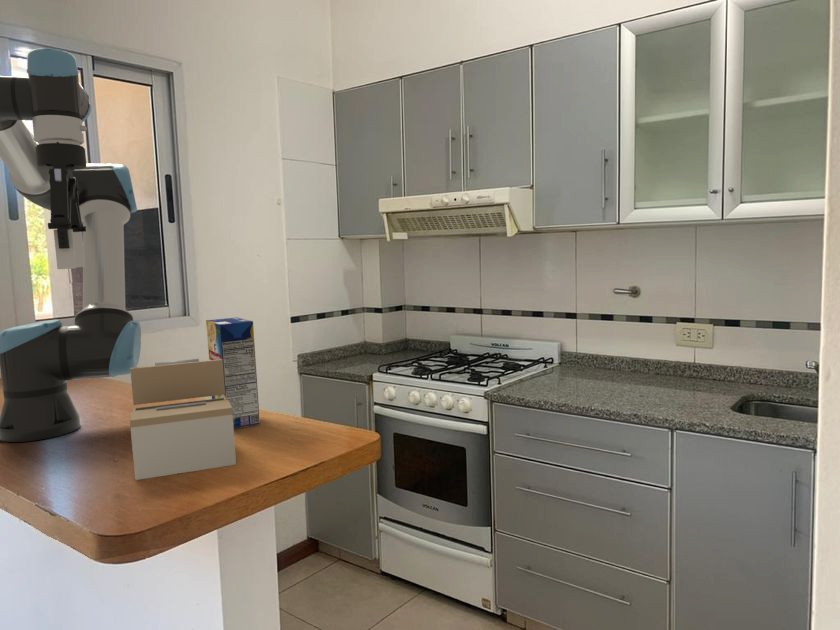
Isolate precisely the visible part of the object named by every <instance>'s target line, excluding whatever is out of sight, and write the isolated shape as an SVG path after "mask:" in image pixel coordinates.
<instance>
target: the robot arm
mask: <svg viewBox="0 0 840 630" xmlns="http://www.w3.org/2000/svg"><path fill="white" fill-rule="evenodd" d="M26 60H27V64H26V65H27V66H26V73H27V76H5V75H0V159H1V160H2V162H3V164H4V165H5V167H6V168H7V170H8V178H9V181H10V183H11V185H12V186H13V188H14V189H15V190H16V191H17V193H18V194H20V195H21V196H22V197H23V198H25V199H26V200H28V201H29V202H31V203H33V204H34V205H36V206H38V207H41V208H43V209H45V210H48V211H50V222H48V223H47V228H48V230H53V236H54V247H55V259H56V268H57V270H70V269H71V270H72V269H74V270H75V269H77V268H82V310H80V311H79V312H77V313H76V315H75V316H74V324H73V325H72V324H71V325H63V323H62V322H61V320H60V319H49V320H43V321H42V320H41V321H37V322H33V323H27V324H23V325H18V326H13V327H9V328H6V329H3V330H2V331H1V332H0V375H1V385H2V393H3V404H2V408H1V412H0V441H1V442H8V443H11V442H12V443H19V442H21V443H22V442H24V443H25V442H33V441H38V440H39V441H40V440H46V439H51V438H55V437H59V436H62V435H66V434H69V433H72V432H74V431H76V430H78V429H79V428H80V427H81V420H80V414H79V412H78V410H77V408H76V406H75V405H74V402H73V400H72V398H71V395H70V394H69V391H68V381H75V380H87V379H99V378H100V379H101V378H109V377H110V378H116V377H118V376H119V377H120V376H124V375H126V376H127V375H131V371H130V368H136V367H138V365H139V361H140V356H141V348H142V341H141V339H142V329H141V324H140V322H139V321H137V320H134V317H133V314H132V313H131V312H130V311H129V310H127V309H126V278H125V277H126V276H125V275H126V274H125V273H126V272H125V237H124V236H125V232H124V231H125V230H124V229H125V228H124V227H125V226H124V225H125V224H127V223H128V222H129V221H130V219H131V213H132V214H133V213H136V212H137V211H138V207H137V202H136V197H135V192H134V187H133V183H132V182H133V181H132V178H131V175H130V174H131V173H130V169H129V168H128V167H127V166H126V165H125V164H121V163H120V164H119V163H111V162H106V164H105V163H87V155H86V148H84V146H82V145H83V144H84V143H85V137H84V133H83V132H87V131H88V127H87V126H86V125H83V123H84V122H85V121H86V120H87V119H88V118H89V117H90V114H91V111H92V104H91V100H90V96H89V94H88V92H87V91H86V89H85V88H84V87H83V86H82V84H81V83H80V81H79V79H80V78H79V74H80V71H79V70H78V63H77V59H76V57H75V56H74V55H73V53H70V52H68V51H66V50H62V49H57V48H43V47H41V48H34V49H31V50H30V51H29V52H28V53H27V54H26ZM26 121H32V129H33V132H32V131H31V129H30V127H29V125H28V123H27V122H26Z"/></svg>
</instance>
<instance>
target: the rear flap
mask: <svg viewBox="0 0 840 630" xmlns="http://www.w3.org/2000/svg"><path fill="white" fill-rule="evenodd" d="M130 371H131V374H130V380H131V392H132V402H133V406H137V405H138V406H139V405H145V404H153V403H163V402H171V401H180V400H188V399H189V400H190V399H197V398H205V397H208V398H209V397H212V396H216V395H225V385H224V371H223V360H222V359H219V360H209V359H207V360H200V359H199V358H192V359H182V360H172V361H160V362H155V363H154V365H150V366H149V365H148V366H139V367H138V366H137V367H136V368H130Z"/></svg>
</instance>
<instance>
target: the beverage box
mask: <svg viewBox="0 0 840 630" xmlns="http://www.w3.org/2000/svg"><path fill="white" fill-rule="evenodd" d="M205 322H206V323H205V325H206V326H205V327H206V337H207V339H206V340H207V350H208V351H207V353H208V360H219V359H222V360H223V371H224V385H225V395H216V396H211V399H218V398H225V399H226V400H229V402H230V405H231V407H232V415H233V428H234V430H236V429H242V427H243V428H248V427H253V426H252V425H254V426H258V425H257V424H259V425H261V422H260V421H261V420H260V408H259V405H260V404H259V392H258V390H259V389H258V380H257V379H258V376H257V374H258V373H257V363H256V359H257V358H256V348H255V347H256V346H255V334H254V332H255V331H254V321H253V320H249V319H245V318H242V317H237V316H236V317H229V318H219V319H218V318H217V319H215V318H214V319H207V320H205ZM247 426H248V427H247Z"/></svg>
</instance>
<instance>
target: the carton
mask: <svg viewBox="0 0 840 630" xmlns="http://www.w3.org/2000/svg"><path fill="white" fill-rule="evenodd" d="M129 425H130V435H131V436H130V437H131V449H132V458H133V470H134V472H133V473H134V480H135V481H139V480H145V479H153V478H159V477H165V476H166V477H167V476H171V475H177V474H178V473H179V474H184V473H190V472H196V471H203V470H209V469H210V470H211V469H216V468H224V467H230V466H235V465H236V466H237V459H236V458H237V457H236V447H235V446H236V444H235V431H234V430H235V429H234V428H233V415H232V407H231V405H230V402H229V400H226V399H225V398H218V399H212V398H210V399H203V400H202V399H201V400H193V401H186V402H177V403H169V404H168V403H167V404H160V405H152V406H144V407H136V408H133V410H131V413H130V417H129ZM179 474H178V475H179Z"/></svg>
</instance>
